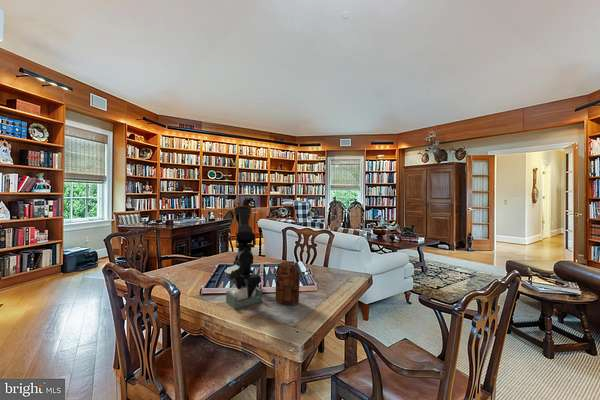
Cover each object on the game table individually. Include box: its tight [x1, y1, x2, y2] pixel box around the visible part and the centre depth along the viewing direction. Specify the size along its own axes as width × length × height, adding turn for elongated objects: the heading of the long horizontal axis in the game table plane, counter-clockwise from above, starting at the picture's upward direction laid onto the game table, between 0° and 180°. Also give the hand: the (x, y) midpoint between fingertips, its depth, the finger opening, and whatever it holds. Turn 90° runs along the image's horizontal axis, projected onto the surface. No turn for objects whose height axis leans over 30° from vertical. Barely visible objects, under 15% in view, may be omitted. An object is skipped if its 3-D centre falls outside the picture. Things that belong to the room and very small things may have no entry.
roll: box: [231, 286, 256, 302], centre depth 126 cm, size 9×5×5 cm, turn 130°
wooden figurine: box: [275, 260, 301, 306], centre depth 126 cm, size 12×6×18 cm, turn 73°
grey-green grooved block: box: [225, 286, 263, 310], centre depth 126 cm, size 13×8×5 cm, turn 130°
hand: (244, 294), depth 126 cm, fingers open, 9 cm apart
